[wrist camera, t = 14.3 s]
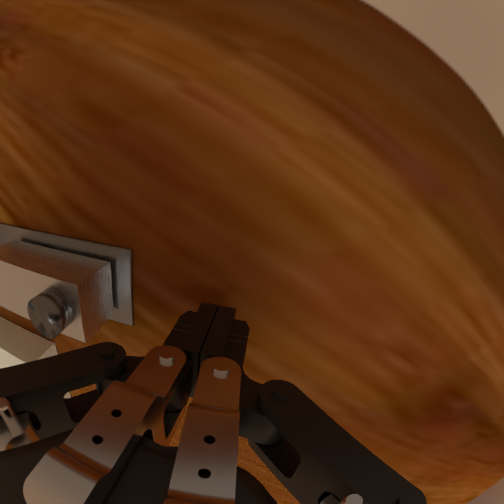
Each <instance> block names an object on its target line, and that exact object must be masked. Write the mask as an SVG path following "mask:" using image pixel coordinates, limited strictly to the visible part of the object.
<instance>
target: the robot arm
mask: <svg viewBox="0 0 504 504" xmlns="http://www.w3.org/2000/svg"><path fill="white" fill-rule="evenodd" d="M235 315H236V308H231V307H225V306H219V305H214V304H209V303H203V302H202V304H201V305H200V307H199V309H198V311H197V312H192V311H187V312H186V313H184V314H182V315H181V316H180V318H179V319H178V321H177V323H176V324H175V326H174V327H173V329H172V331H171V332H170V334H169V336H168V337H167V339H166V341H165V342H164V344H163V346H158V347H155V348H153V349H151V350H150V351H149V352H148V354H147V355H146V356H144V357H136V356H126V352H125V350H124V348H123V347H122V346H120V345H118V344H116V343H112V342H103V343H99V344H95V345H92V346H88V347H84V348H81V349H77V350H73V351H70V352H66V353H62V354H58V355H54V356H51V357H47V358H43V359H39V360H35V361H31V362H27V363H23V364H18V365H14V366H10V367H6V368H1V369H0V504H277V502H276V501H275V500H274V499H273V498H272V496H271V495H270V494H269V493H268V491H267V490H266V489H265V487H264V486H263V485H262V484H261V483H260V482H259V481H258V480H257V479H256V478H255V477H254V476H253V475H251V474H250V473H249V472H247V471H246V470H244V469H242V468H240V467H238V466H237V455H238V439H239V435H240V436H242V437H244V438H247V439H248V443H249V445H250V446H251V448H252V449H253V450H254V451H255V453H256V454H257V455H258V456H259V457H260V459H261V460H262V461H263V462H264V463H265V465H266V466H267V467H268V468H269V469H270V470H271V472H272V473H273V474H274V475H275V476H276V477H277V478H278V479H279V481H280V482H281V483H282V484H283V485H284V486H285V487H286V488H287V489H288V490H289V492H290V493H291V494H292V495H293V496H294V497H295V498H296V499H297V500H298V501H299V502H300V503H301V504H427V502H426V498H425V496H424V494H423V493H422V491H420V490H419V489H418V488H417V487H415V486H414V485H413V484H411V483H410V482H409V481H407V480H406V479H405V478H403V477H402V476H401V475H399V474H398V473H397V472H396V471H394V470H393V469H392V468H390V467H389V466H388V465H387V464H385V463H384V462H383V461H382V460H380V459H379V458H378V457H377V456H375V455H374V454H373V453H372V452H370V451H369V450H368V449H367V448H366V447H364V446H363V445H362V444H361V443H360V442H358V441H357V440H356V439H355V438H354V437H352V436H351V435H350V434H349V433H348V432H347V431H345V430H344V429H343V428H342V427H341V426H340V425H338V424H337V423H336V422H335V421H334V420H333V419H332V418H330V417H329V416H328V415H327V414H326V413H325V412H324V411H323V410H321V409H320V408H319V407H318V406H317V405H316V404H315V403H314V402H313V401H312V400H310V399H309V398H308V397H307V396H306V395H305V394H304V393H303V392H302V391H301V390H300V389H299V388H297V387H296V386H295V385H294V384H292V383H290V382H287V381H284V380H271V381H268V382H266V383H264V384H263V385H262V384H259V383H257V382H255V381H253V380H251V379H250V378H249V377H247V375H246V374H245V373H244V371H243V363H244V358H245V352H246V346H247V340H248V334H249V327H248V325H247V323H246V321H240V320H235ZM92 384H96V388H97V389H96V390H93V391H90V392H87V393H84V394H81V395H78V396H74V397H71V398H64V396H65V394H66V393H68V392H69V391H73V390H76V389H79V388H82V387H85V386H89V385H92ZM189 396H190V397H193V401H192V404H191V403H190V404H189V406H188V409H187V413H186V417H185V422H184V426H183V430H182V434H181V438H180V442H179V447H170V446H169V444H170V441H171V439H172V437H173V435H174V433H175V431H176V429H177V427H178V425H179V423H180V421H181V419H182V417H183V415H184V413H185V410H186V403H187V401H188V398H189Z"/></svg>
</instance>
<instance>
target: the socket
mask: <svg viewBox="0 0 504 504" xmlns="http://www.w3.org/2000/svg"><path fill="white" fill-rule="evenodd" d="M54 355H58V353H57V350H56V346H55V343H54V342H52V341H49V340H47V339H45V338H43V337H40V336H38V335H36V334H34V333H32V332H30V331H28V330H26V329H24V328H22V327H20V326H18V325H16V324H14V323H12V322H10V321H8V320H6V319H4V318H2V317H1V316H0V369H1V368H6V367H10V366H14V365H18V364H23V363H27V362H31V361H35V360H39V359H43V358H47V357H51V356H54ZM64 398H71V395H70V392H68V393H66V394H65V396H64Z"/></svg>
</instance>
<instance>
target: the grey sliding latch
mask: <svg viewBox="0 0 504 504" xmlns="http://www.w3.org/2000/svg"><path fill="white" fill-rule="evenodd" d="M12 240H19V241H23V242H27V243H31V244H35V245H39V246H43V247H47V248H51V249H56V250H60V251H64V252H68V253H73V254H77V255H81V256H86V257H90V258H95V259H99V260H104V261H108V262H111V278H112V296H113V309H114V314H113V315H112V316H111V317H110V318H109V319H110V320H113V321H117V322H120V323H124V324H128V325H131V326H133V325H134V313H133V288H132V249H129V248H124V247H118V246H113V245H108V244H103V243H97V242H92V241H87V240H82V239H77V238H72V237H67V236H62V235H57V234H52V233H47V232H42V231H37V230H32V229H27V228H22V227H18V226H13V225H8V224H3V223H0V245H3V244H5V243H7V242H10V241H12Z"/></svg>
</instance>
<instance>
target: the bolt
mask: <svg viewBox="0 0 504 504" xmlns="http://www.w3.org/2000/svg"><path fill="white" fill-rule="evenodd" d="M0 306H2V307H4V308H6V309H8V310H10V311H12V312H14V313H16V314H18V315H20V316H22V317H25V318H27V319H29V320H31V322H32V324H33V326H34V327H35V328H36V330H37V331H38V332H39V333H40V334H41V335H43V336H44V337H46V338H49V339H54V338H56V337H57V336H58V335H59V334H60V333H62V334H64V335H67V336H69V337H72V338H74V339H77V340H80V341H82V342H85V343H86V342H87V341H88V340H89V339H90V338H91V336H92V335H93V334H94V333H95V332H96V331H97V330H98V329H99V328H100V327H101V326H102V325H103V324H104V323H105V322H106V321H107V320H108V319H109V318H110V317H111V316H112V315H113V314H114V309H113V296H112V278H111V262H108V261H104V260H99V259H95V258H90V257H86V256H81V255H77V254H73V253H68V252H64V251H60V250H56V249H51V248H47V247H43V246H39V245H35V244H31V243H27V242H23V241H19V240H12V241H10V242H7V243H5V244H3V245H0Z"/></svg>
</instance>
